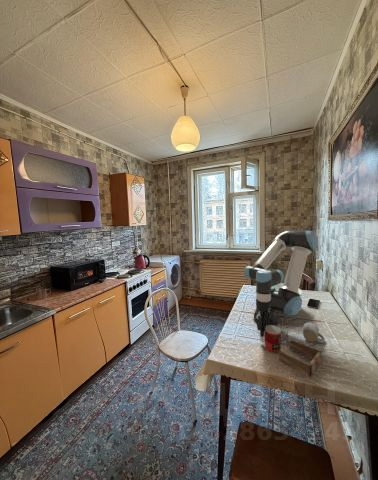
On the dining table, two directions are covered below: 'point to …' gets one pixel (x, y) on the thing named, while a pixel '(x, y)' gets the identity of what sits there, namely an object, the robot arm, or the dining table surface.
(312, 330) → the ceramic mug
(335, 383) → the dining table surface
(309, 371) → the frame
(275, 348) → the canned food
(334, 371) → the dining table surface
